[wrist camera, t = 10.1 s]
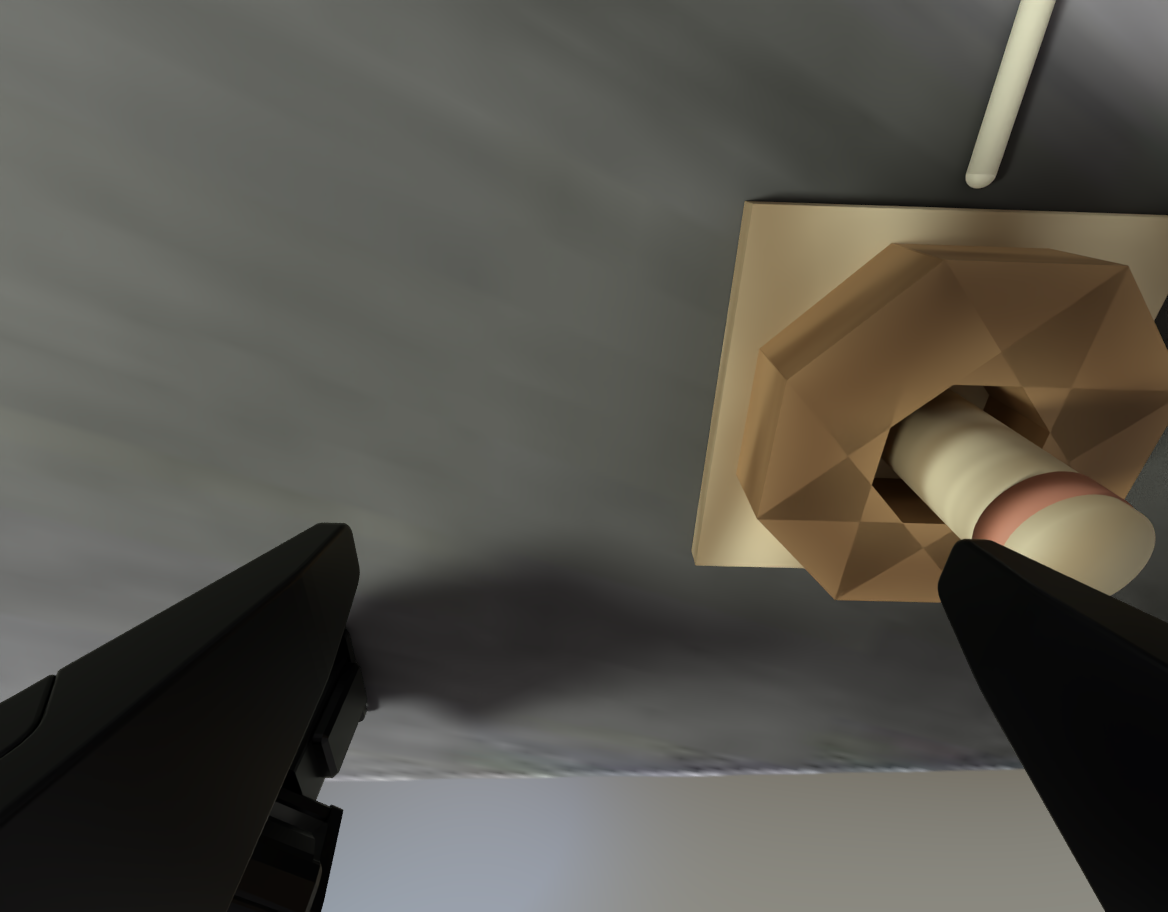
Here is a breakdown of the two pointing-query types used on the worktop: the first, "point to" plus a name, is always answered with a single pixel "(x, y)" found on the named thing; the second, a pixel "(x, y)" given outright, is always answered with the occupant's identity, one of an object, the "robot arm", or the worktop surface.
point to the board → (822, 262)
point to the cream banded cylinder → (1017, 494)
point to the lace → (1008, 90)
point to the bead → (926, 369)
